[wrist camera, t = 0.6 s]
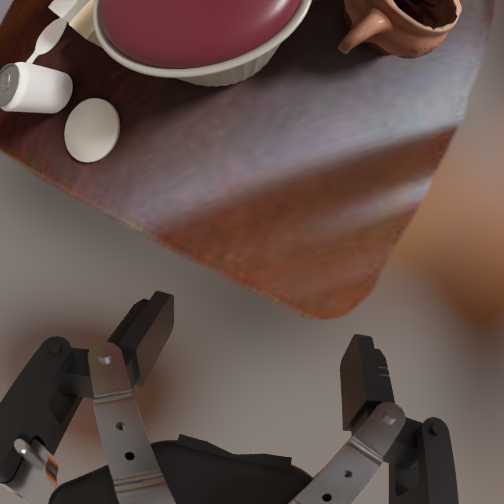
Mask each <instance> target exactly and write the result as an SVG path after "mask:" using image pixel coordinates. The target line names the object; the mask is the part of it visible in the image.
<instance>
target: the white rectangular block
mask: <svg viewBox="0 0 504 504" xmlns="http://www.w3.org/2000/svg"><path fill="white" fill-rule="evenodd" d="M89 1H90V0H54V1H53V2H52V3H51V4H50V5H49V7H48V8H49V9H51V10H52V11H53V12H54V13H56V14H57V15H58V16H59V17H60V18H62V19H63V20H65V21H67V22H69V23H70V22H71V21H72V19H73V18H74V17H75V16H76V15H77V14H78V13H79V12H80V11H81V9H82V8H83V7H84V6H85V5H86V4H87V3H88V2H89Z"/></svg>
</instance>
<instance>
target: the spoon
mask: <svg viewBox="0 0 504 504" xmlns="http://www.w3.org/2000/svg"><path fill="white" fill-rule="evenodd" d="M66 25H67V21H65V20H63V19H62V18H59V19H57V20H55V21H53V22H52V23H51V24H49V25H48V26H47V27H46V28H45V29H44V31H43V32H42V33H41V35H40V37H39V38H38V40H37V43H36V49H35V52H34V53H33V54H32V55H31V57H30V58H29V59H28V61H27V62H26V63H29V64H32V63H33V61H34V60H35V58H36V57H37V56H38V55H40V54H44V53H46V52H48V51H49V50H51V49H52V48H53V47H54V46H55V45H56V43H57V42H58V41H59V39H60V38H61V36H62V34H63V32H64V30H65V28H66Z"/></svg>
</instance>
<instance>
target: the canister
mask: <svg viewBox="0 0 504 504" xmlns="http://www.w3.org/2000/svg"><path fill="white" fill-rule="evenodd" d="M311 1H312V0H95V1H94V6H93V25H94V30H95V33H96V36H97V39H98V41H99V42H100V44H101V46H102V47H103V49H104V50H105V51H106V52H107V53H108V54H109V55H110V56H111V57H112V58H113V59H114V60H116V61H117V62H118V63H120V64H122V65H123V66H125V67H127V68H129V69H131V70H134V71H136V72H139V73H142V74H146V75H151V76H156V77H164V78H177V79H180V80H183V81H186V82H189V83H193V84H196V85H204V86H207V87H209V86H215V87H218V86H227V85H230V84H236V83H237V82H240V81H244V80H245V79H247V78H248V77H251V76H253V75H254V74H255V73H256V72H258V71H260V70H261V68H262V67H263V66H265V65H266V64H267V63H268V61H269V60H270V58H271V57H272V56H273V55H274V53H275V52H276V50H277V49H278V47H279V45H280V44H281V42H283V41H284V40H285V39H286V38H287V37H288V36H289V35H290V34H291V33H292V32H293V31H294V30H295V29H296V28H297V27H298V26H299V24H300V23H301V22H302V20H303V19H304V17H305V15H306V13H307V11H308V9H309V7H310V4H311Z"/></svg>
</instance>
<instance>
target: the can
mask: <svg viewBox="0 0 504 504" xmlns="http://www.w3.org/2000/svg"><path fill="white" fill-rule="evenodd" d="M72 89H73V84H72V80H71V78H70V76H69V75H68V74H66V73H63V72H60V71H56V70H53V69H49V68H45V67H41V66H37V65H33V64H29V63H24V62H18V63H15V64H13V63H11V64H8V65H6V66H5V67H3V68H2V69H1V71H0V108H1V109H3V110H5V111H16V112H37V113H57V112H59V111H60V110H61V109H63V108H64V107H65V106H66V104H67V103H68V101H69V99H70V97H71V94H72Z"/></svg>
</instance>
